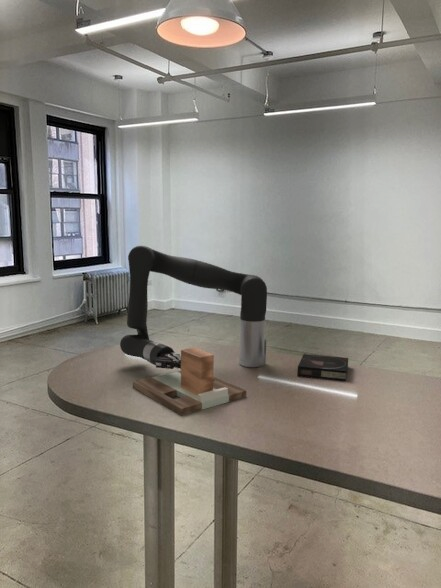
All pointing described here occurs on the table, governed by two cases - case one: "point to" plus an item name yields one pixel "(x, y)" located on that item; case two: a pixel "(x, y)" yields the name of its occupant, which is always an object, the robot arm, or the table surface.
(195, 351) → the block
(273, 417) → the table surface
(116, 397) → the table surface
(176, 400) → the lane board
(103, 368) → the table surface
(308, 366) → the portable cd player
